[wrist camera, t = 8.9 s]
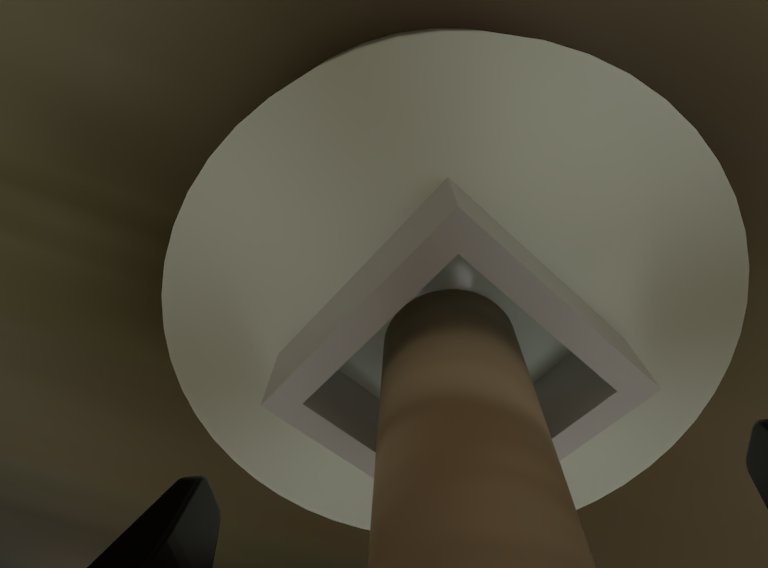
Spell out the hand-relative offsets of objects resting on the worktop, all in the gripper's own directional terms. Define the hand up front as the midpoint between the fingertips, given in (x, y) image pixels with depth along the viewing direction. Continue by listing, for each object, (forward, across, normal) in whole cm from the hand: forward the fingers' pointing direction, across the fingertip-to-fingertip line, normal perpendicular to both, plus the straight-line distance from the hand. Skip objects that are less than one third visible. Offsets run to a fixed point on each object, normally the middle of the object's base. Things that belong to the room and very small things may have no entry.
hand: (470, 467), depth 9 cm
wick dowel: (+4, 0, 0) cm, 4 cm away
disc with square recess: (+8, 0, 0) cm, 8 cm away
